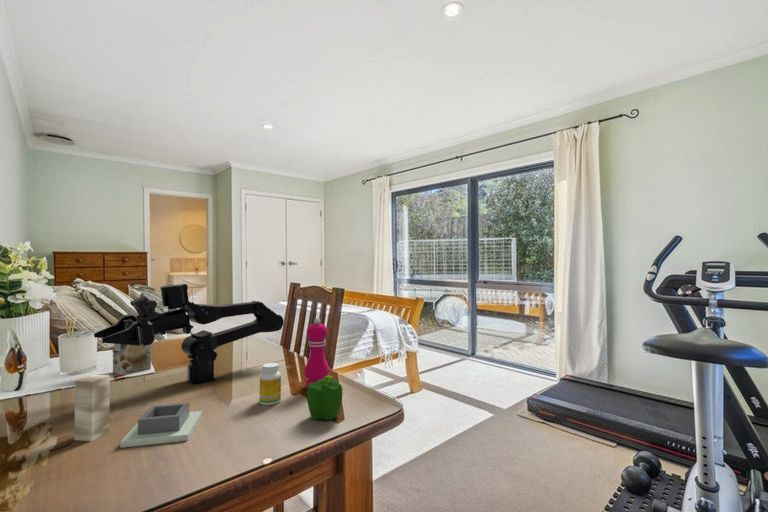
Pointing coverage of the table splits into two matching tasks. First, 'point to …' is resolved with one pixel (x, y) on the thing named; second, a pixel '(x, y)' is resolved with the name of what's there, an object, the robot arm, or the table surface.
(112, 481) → the table surface
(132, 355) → the coffee box
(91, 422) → the plug block
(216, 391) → the table surface
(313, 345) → the pepper mill
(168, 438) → the socket holder
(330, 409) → the bell pepper
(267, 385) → the supplement bottle
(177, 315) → the robot arm
